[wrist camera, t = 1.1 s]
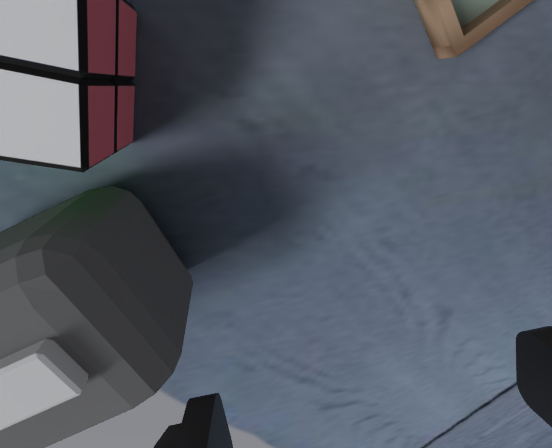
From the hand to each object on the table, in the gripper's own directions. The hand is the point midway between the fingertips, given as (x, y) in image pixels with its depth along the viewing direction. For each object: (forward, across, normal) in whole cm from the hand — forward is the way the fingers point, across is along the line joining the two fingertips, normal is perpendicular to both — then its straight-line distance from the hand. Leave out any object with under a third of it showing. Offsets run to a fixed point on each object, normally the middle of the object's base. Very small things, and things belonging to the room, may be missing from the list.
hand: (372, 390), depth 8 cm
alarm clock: (+23, +19, 0) cm, 30 cm away
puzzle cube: (+20, +15, -16) cm, 29 cm away
